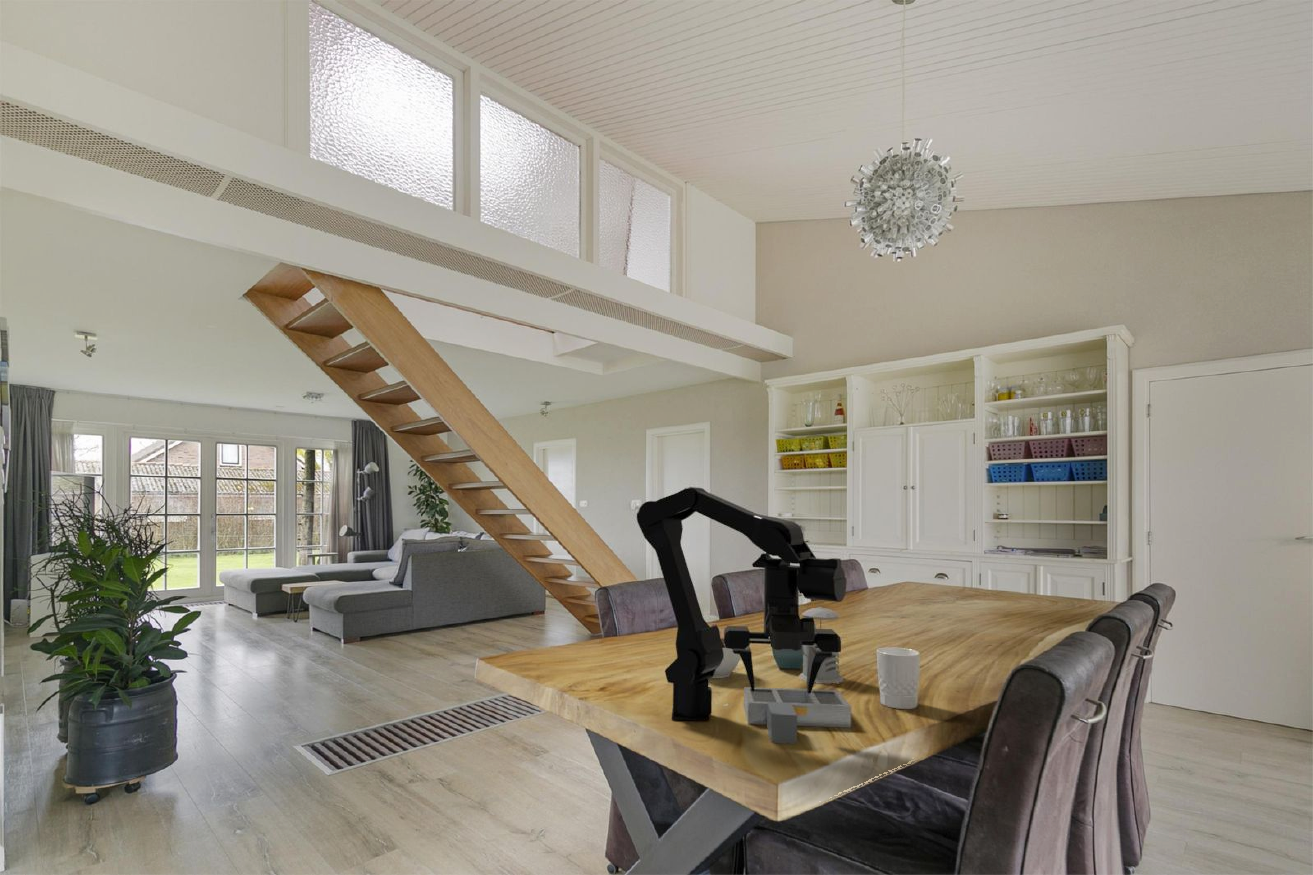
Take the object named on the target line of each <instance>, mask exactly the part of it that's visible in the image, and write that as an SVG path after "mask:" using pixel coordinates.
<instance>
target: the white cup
mask: <svg viewBox="0 0 1313 875" xmlns="http://www.w3.org/2000/svg"><path fill="white" fill-rule="evenodd" d="M920 659H921V658H920V652H919V651H918V650H914V649H910V648H906V647H905V648H904V647H896V646H894V647H893V646H891V647H890V646H887V647H879V648H876V660H877V661H876V662H877V665H876V666H877V677H878V679H877V680H878V689H879V700H880V701H879V702H880V704H881V705H882V706H885V707H888V708H892V709H899V710H912V709H916V708H918V695H919V694H918V692H919V682H920Z"/></svg>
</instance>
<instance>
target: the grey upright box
mask: <svg viewBox="0 0 1313 875" xmlns="http://www.w3.org/2000/svg"><path fill="white" fill-rule="evenodd" d="M766 726H767V727H766V729H767V732H768V736H769V739H770V742H771V743H773V744H774V743H775V744H777V743H778V744H798V740H797V737H798V736H797V734H798V731H797V730H798V729H797V728H798V726H797V715H796V712H795V710H794V708H793V706H792V704H791V703H785V702H767V725H766Z"/></svg>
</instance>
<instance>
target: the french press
mask: <svg viewBox="0 0 1313 875" xmlns="http://www.w3.org/2000/svg"><path fill="white" fill-rule="evenodd" d="M801 615H802V618H813V619H814V620H817V621H818V620H819V624H820V625H819V629H822V621H823V620H824V621H827V620H828V621H829V620H837V619H839V618H840V615H839V614H838V613H836V612H835V611H834V610H831V609H829V608H825V607H823V606H822V600H819V606H818V607H813V608H809V609H807V610H805V611H803V612H802V613H801ZM814 627H815V629H817V628H816V627H817V624H816V623H814ZM809 646H810V647H812V645H802V650H803V655H804V656H803V661H804V662H803V665H802V672H801V673H800V674H799V675H798V676H799V677H798V679H799V678H801V679H802V680H801V679H800V680H801V681H803V680H805V681H804V682H806V681H807V672H808V658H809ZM831 653H832V654H833V655H832V657H827V658H826V659H825V660H824V661H823V663H822V665H821V667H820V669H819V671H818V673H817V676H816V679H815V682H816V683H815V684H817V683H826V684H825V685H831V684H830V683H837V682H842V683H843V682H844V681H845V680H844V678H843V676H841V675H840V671H839V670H840V665H839V664H840V659H839V658H840V654H839V653H840V652H831ZM827 683H829V684H827ZM837 684H838V683H837Z"/></svg>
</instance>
